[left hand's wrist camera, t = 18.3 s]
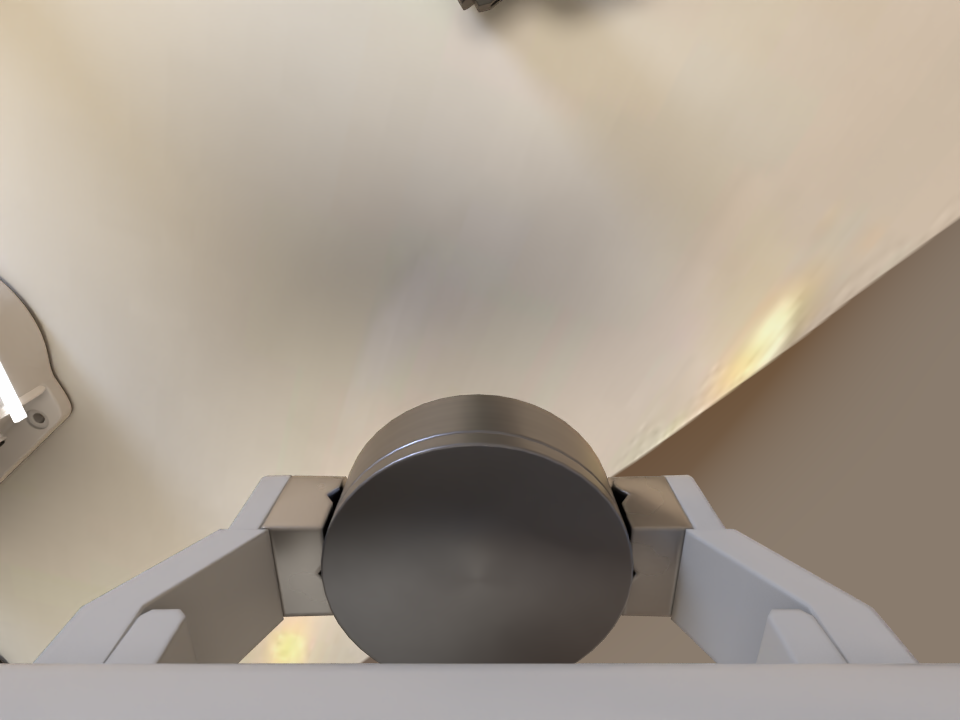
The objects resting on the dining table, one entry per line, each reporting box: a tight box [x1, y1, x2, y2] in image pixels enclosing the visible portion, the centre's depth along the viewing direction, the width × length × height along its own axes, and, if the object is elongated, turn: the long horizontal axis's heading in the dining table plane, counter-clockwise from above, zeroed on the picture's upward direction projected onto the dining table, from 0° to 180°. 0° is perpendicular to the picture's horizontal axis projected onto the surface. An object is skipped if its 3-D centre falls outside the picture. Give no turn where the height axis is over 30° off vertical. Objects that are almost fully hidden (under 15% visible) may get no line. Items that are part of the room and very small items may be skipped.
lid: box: [321, 394, 634, 664], centre depth 9 cm, size 5×5×2 cm
